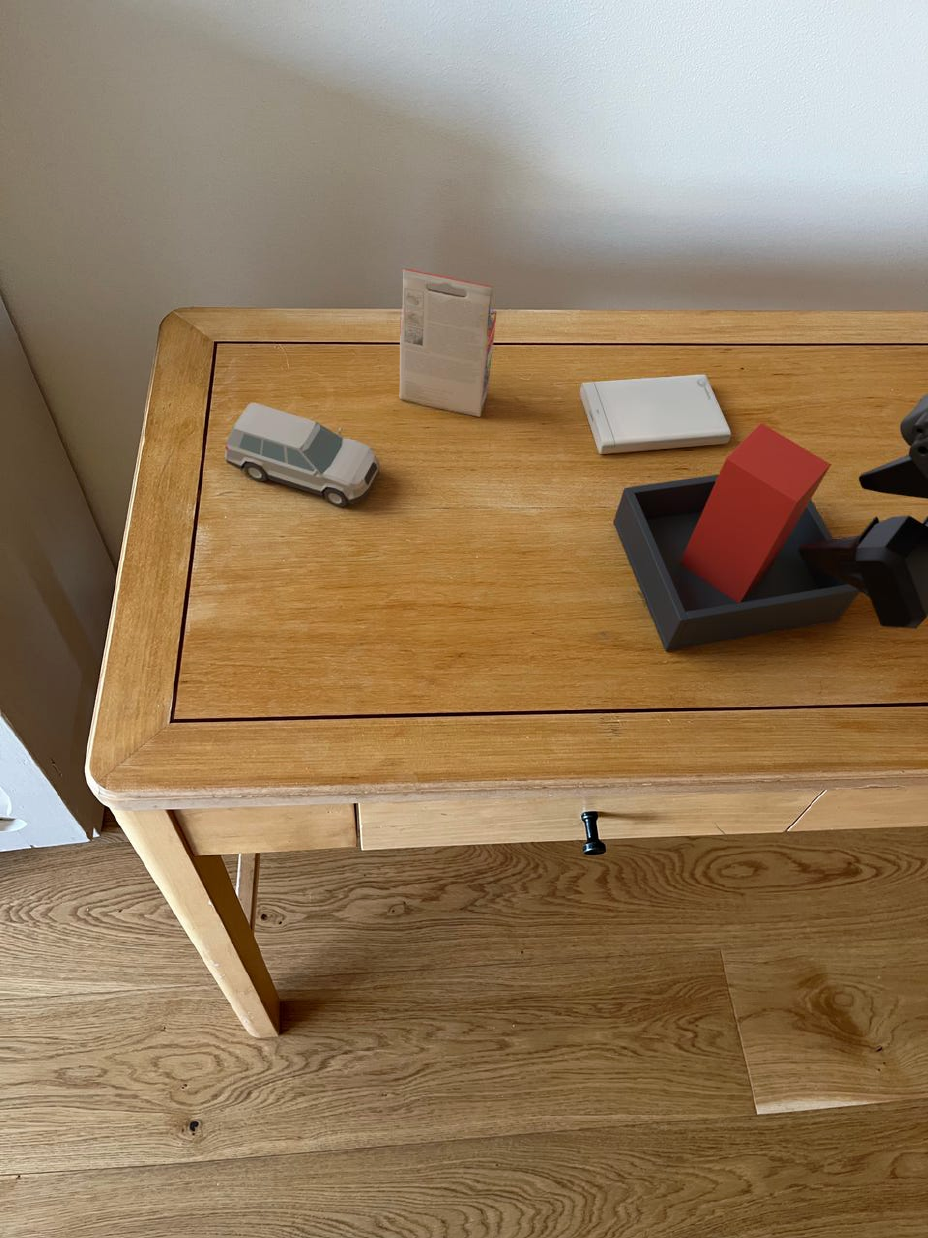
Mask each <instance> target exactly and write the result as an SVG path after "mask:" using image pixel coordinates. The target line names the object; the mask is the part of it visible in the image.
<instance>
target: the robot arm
mask: <svg viewBox="0 0 928 1238" xmlns="http://www.w3.org/2000/svg"><path fill="white" fill-rule="evenodd" d="M899 426H900V427H899V430H900V434H901V438H903V440H904V441H905V443H906V444H907V445H908V446H909V448H908V454H906V455H905V456H902V457H899V458H897V459H895V460H892V461H889V462H887V463H885V464H883V465H880V466H878V467H875V468H872V469H871V470H867V471H866V472H863V473H861V474H860V475H859V477H858V481H859V484H860V486H861V489H863V490H867V491H871V492H876V493H881V494H888V495H894V496H895V495H896V496H903V497H909V498H918V499H926V500H928V393H926V394H924V395H923V396H921V398H920V399H919V401H918V403H917V404H916V405H915V406H914V407H913V408H912V410H910V412H909V413H908V414H907V415H906V416H905V417H904V418H903V419H902V420H901V421H900V425H899ZM798 550H799V553H800V555H801V558H802V559H803V561H805V562H807V563H809V564H811V565H813V566H815V567H817V568H818V569H820V570H822V571H824V572H826V573H828V574H830V575H832V576H834V577H836V578H838V579H840V580H842V581H844V582H845V583H847V584H849V585H851V586H853V587H854V588H856V589H858V590H859V591H860V593H862V594H863V595H865V596H866V597H868V598H869V599H870V602H871V605H872V607H873V610H874V611H875V614H876V617H877V620H878V622H879V624H880V626H881V627H883V628H887V629H888V628H889V629H908V630H909V629H910V630H913V629H914V630H916V629H918V628H919V626H920V625H922V623H923V622H924V621H925V620H926V619H927V617H928V515H927V516H926V517H925V519H924V520H923V522H921V521H919V520H918V519H916V518H914V517H912V516H911V515H896V516H891V517H889V518H886V519H885V520H881V521H880V519H879V517H878V516H875V517H873V519H872V520H871V521H870V522H869V523H868V525H867V526H866V527H865V529H864V530H863V531H862V532H861V533H860V535H854V536H848V537H847V536H846V537H839V538H833V540H826V541H820V542H814V543H810V544H806V545H802V546H801V547H800V548H799V549H798Z"/></svg>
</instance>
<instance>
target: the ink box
mask: <svg viewBox="0 0 928 1238" xmlns="http://www.w3.org/2000/svg"><path fill="white" fill-rule="evenodd" d="M430 284H431V285H436V286H442V285H444V284H446V285H449V286H451V289H455V290H456V289H457V290H460V291H464V292H465V293H466V295H460V294H456V293H451V292H445V291H442V290H441V291H440V290H437V289H430V288H429V287H428V285H430ZM493 289H494V287H493V286H492V285H488V284H482V283H477V282H472V281H468V280H463V279H459V278H454V277H449V276H445V275H439V274H434V273H429V272H424V271H420V270H415V269H410V268H406V267H403V268H402V312H401V315H400V317H399V318H400V319H399V323H400V324H399V328H400V329H399V399H400V400H402V401H405V402H408V403H413V404H417V405H422V406H426V407H431V408H435V409H440V410H445V411H449V412H454V413H459V414H462V415H463V414H464V415H469V416H473V417H478V418H480V417H482V411H483V409H484V405H485V402H486V399H487V395H488V392H489V391H488V390H489V383H490V375H491V368H492V367H491V366H492V357H493V348H494V338H495V331H496V330H495V329H496V324H497V323H496V322H497V310H492V309H491V303H492V296H493Z"/></svg>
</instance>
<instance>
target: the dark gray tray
mask: <svg viewBox="0 0 928 1238" xmlns="http://www.w3.org/2000/svg"><path fill="white" fill-rule="evenodd" d="M719 474H720V473H717V474H712V475H705V476H696V477H691V478H690V477H689V478H683V479H676V480H670V481H662V482H655V483H647V484H641V485H640V484H639V485H634V486H628V487H624V488H623V490H622V494H621V497H620V500H619V502H618V503H619V504H618V506H617V509H616V513H615V516H614V518H613V525H614V527H615V530H616V532H617V535H618V538H619V541H620V543H621V545H622V548H623V550H624V552H625V555H626V558H627V560H628V562H629V565H630V567H631V570H632V572H633V576H634V577H635V579H636V583H637V584H638V587H639V590H640V592H641V594H642V597H643V600H644V602H645V604H646V607H647V609H648V612H649V614H650V617H651V619H652V621H653V624H654V627H655V629H656V631H657V633H658V636H659V639H660V642H661V644H662V647H663V649H664V651H665V652H670V651H675V650H681V649H686V648H687V649H688V648H693V647H698V646H703V645H710V644H715V643H721V642H728V641H732V640H738V639H743V638H749V637H754V636H760V635H765V634H772V633H778V632H783V631H788V630H795V629H800V628H805V627H810V626H816V625H822V624H823V625H824V624H828V623H833V622H839V621H840V619H841V617H842V616H843V615H844V614H845V612H846V611H847V610H848V609H849V607H850V606H851V605H852V604H853V602H854V600H856V598H857V597H858V595H859V594H860V593H861V591H859V590H858V589H856V588H854V587H853V586H851V585H849V584H847V583H845V582H844V581H842V580H840V579H838V578H836V577H834V576H832V575H830V574H828V573H826V572H824V571H822V570H820V569H818V568H817V567H815V566H813V565H811V564H809V563H807V562H805V561H803V559H802V558H801V555H800V553H799V550H798V549H799V548H800V547H801V546H802V545H806V544H810V543H814V542H820V541H826V540H833V539H834V537H833V536H832V534H831V532H830V531H829V528H828V527H827V525H826V523H825V521H824V520H823V518H822V515H821V514H820V511H818V509H817V507H816V505H815V503H814V501H813V500H812V499H811V500H810V501H809V503H808V505H807V507H806V508H805V510H804V512H803V513H802V515H801V517H800V518H799V520H798V522H797V524H796V525H795V527H794V529H793V530H792V532H791V534H790V536H789V537H788V539H787V541H786V542H785V544H784V546H783V547H782V549H781V551H780V553H779V554H778V556H777V558H776V559H775V561H774V563H773V565H772V566H771V568H770V569H769V571H768V572H767V573H766V574H765V575H764V576H763V578H762V579H761V580H760V581H759V582H758V583H757V585H756V586H755V587H754V588H753V589H752V590H751V592H750V593H749V594H748V595H747V596H746V597H745V599H744V600H743V601H742V602H741V603H737V602H736V601H734V600H733V599H731V598H730V597H728V596H727V595H725V594H724V593H722V592H721V591H719V590H718V589H716V588H715V587H713V586H712V585H711V584H709V583H708V582H706V581H705V580H703V579H702V578H700V577H699V576H697V575H696V574H694V573H693V572H691V571H690V570H688V569H687V568H685V567H684V566H682V565H681V564H680V562H681V559H682V557H683V555H684V553H685V550H686V548H687V546H688V544H689V541H690V539H691V537H692V535H693V532H694V530H695V528H696V526H697V523H698V521H699V519H700V516H701V514H702V512H703V510H704V507H705V505H706V503H707V501H708V498H709V496H710V494H711V492H712V489H713V487H714V485H715V483H716V480H717V478H718V476H719Z"/></svg>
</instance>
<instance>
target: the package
mask: <svg viewBox="0 0 928 1238" xmlns="http://www.w3.org/2000/svg"><path fill="white" fill-rule="evenodd" d="M831 466H832V464H831V463H829V462H828V461H826V460H825V459H823V458H821V457H820V456H818V455H816V454H815V453H813V452H811V451H809V450H808V449H806V448H804V447H803V446H801V445H799V444H798V443H796V442H794V441H792V440H791V439H789V438H788V437H786V436H785V435H782V434H781V433H779V432H777V431H776V430H774V429H773V428H771V427H769V426H768V425H766V424H764V423H763V422H760V423H758V425H757V426H756V427H755V428H754V429H753V430H752V431H751V432H750V433H749V434H748V435H747V436H746V437H745V438H744V439H743V440H742V441H741V443H740V444H739V445H737V446H736V448H734V450H733V451H732V452H731V453H729V454H728V455H727V457H726V458H725V460H724V462H723V465H722V467H721V469H720V471H719V473H718V474H719V476H718V478H717V480H716V483H715V485H714V487H713V489H712V492H711V494H710V496H709V498H708V501H707V503H706V505H705V507H704V510H703V512H702V514H701V516H700V519H699V521H698V523H697V526H696V528H695V530H694V532H693V535H692V537H691V539H690V541H689V544H688V546H687V548H686V550H685V553H684V555H683V557H682V559H681V562H680V564H681V565H682V566H684V567H685V568H687V569H688V570H690V571H691V572H693V573H694V574H696V575H697V576H699V577H700V578H702V579H703V580H705V581H706V582H708V583H709V584H711V585H712V586H713V587H715V588H716V589H718V590H719V591H721V592H722V593H724V594H725V595H727V596H728V597H730V598H731V599H733V600H734V601H736V602H737V603H741V602H742V601H743V600H744V599H745V597H746V596H747V595H748V594H749V593H750V592H751V590H752V589H753V588H754V587H755V586H756V585H757V583H758V582H759V581H760V580H761V579H762V578H763V576H764V575H765V574H766V573H767V572H768V571H769V569H770V568H771V566H772V565H773V563H774V561H775V559H776V558H777V556H778V554H779V553H780V551H781V549H782V547H783V546H784V544H785V542H786V541H787V539H788V537H789V536H790V534H791V532H792V530H793V529H794V527H795V525H796V524H797V522H798V520H799V518H800V517H801V515H802V513H803V512H804V510H805V508H806V507H807V505H808V503H809V501H810V500H812V498H813V496H814V495H815V493H816V492H817V489H818V487H819V486H820V484H821V483H822V481H823V479H824V478H825V476H826V474H827V472H828V471H829V469H830V467H831Z"/></svg>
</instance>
